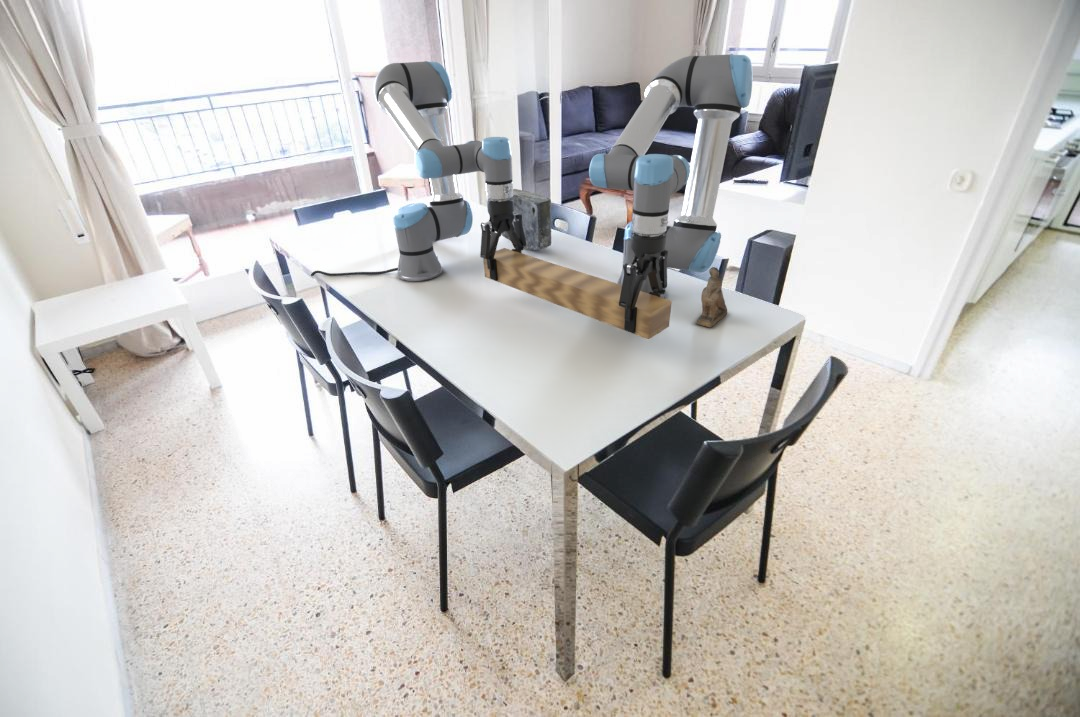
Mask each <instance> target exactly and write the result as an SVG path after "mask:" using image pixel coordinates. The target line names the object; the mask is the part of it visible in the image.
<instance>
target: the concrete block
mask: <svg viewBox="0 0 1080 717" xmlns="http://www.w3.org/2000/svg"><path fill="white" fill-rule="evenodd" d="M512 198H513V199H514V212H513V214H514V213H517V214H521V215H522V225H523V230H524V235H525V239H526V246H523V247H524V249H526V250H529V251H542V250H544V249H546V248H548V247H551V245H552V200H551V198H550V197H546V196H544V195H541V194H538V193H535V192H531V191H527V190H522V189H517V188H513V197H512ZM512 224H513V226H514V223H512ZM514 228H515V227H514ZM515 233H516V232H515ZM502 236H503V238H505V239H507V240H508V241H510V242H511V240H510V238H509V236H508V234H507V232H506V231H504V232H503V233H501V237H502Z"/></svg>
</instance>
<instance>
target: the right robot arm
mask: <svg viewBox="0 0 1080 717" xmlns="http://www.w3.org/2000/svg"><path fill="white" fill-rule="evenodd" d="M752 91H753V64H752V60H751V58H750V56H748V55H746V54H733V53H730V54H713V55H712V54H711V55H709V54H708V55H688V56H684V57H682V58H679V59H677V60H675V61H673V62H671V63H670V64H669V65H667V66H666V67H664V68H663V69H662V70H660V71H659V72H658V73H657V74H656V75H655V76H654V77H653V78H652V79H651V81H649V84H648V85H647V87H646V88H645V91H644V98H643V99H642V101H641V103H640V105H639V106H638V108H637V109H636V110H635V112H634V114H633V115H632V116H631V119H630V120H629V122H628V123H627V124H626V126H625V128H624V129H623V131H622V132H621V134H620V135H619V137H618V138H617V140H616V141H615V143H614V144H613V146H612V148H610V150H609V152H608V153H606V152H603V153H597V154H595V155H593V157H592V158H591V161H590V163H589V167H588V176H589V181H590V183H591V185H592V186H593V187H596V188H603V189H607V190H618V191H619V190H620V191H633V202H632V203H633V204H632V214H631V215H632V216H631V221H629V222H628V223H627V224H626V225H625V228H624V236H623V254H622V270H621V273H620V275H619V277H618V280H617V282H616V283H617V284H620V285H622V289H621V294H620V300H619V306H621V307H624V308H625V316H624V318H625V325H624V330H623V331H625V332H627V333H631V334H633V335H635V334H634V333H635V332H636V319H637V307H635V305H636V302H637V299H638V296H639V293H640V291H642V292H646V293H649V294H652V295H655V296H658V297H661V298H665V297H666V289H667V287H668V269H674V270H681V271H687V272H689V273H691V272H692V273H693V272H694V273H705V272H707V271H709V270H710V269H711V266H712V264H713V262H714V261H715V258H716V256H717V255H718V251H719V247H720V244H721V238H722V234H721V232H720V231H719V230H717V227H718V223H717V222H716V220H715V218H714V213H715V209H716V203H717V197H718V193H719V188H720V184H721V179H722V174H723V169H724V163H725V159H726V154H727V149H728V145H729V140H730V135H731V129H732V124H733V122H734V121H735V120H737V119H738V118H739V117H740V116H741V111H742V109H745V108H747V107H749V105H750V102H751V99H752ZM682 107H694V108H693V115H694V116H695V118H696V120H697V122H696V123H697V124H696V130H695V135H694V140H693V146H692V152H691V157H690V162H689V161H688V160H687V159H686V158H685V157H683V156H681V155H678V154H673V155H671V154H670V155H668V154H663V153H648V154H646V153H647V152H648V150H649V148H650V147H651V145H652V143H653V142H654V141H655V138H656V137H657V135H658V133H659V132H660V130H661V129H662V127H663V125H664V124H665V122H666V121H667V119H668V118H669V116H670V115H672V114H673V113H675V112H676V111H677V110H678V109H679V108H682ZM684 186H685V190H684V195H683V200H682V207H681V212H680V215H679V216H677V217H676V218H675V219H674V220H673V225H668V223H669V220H668V219H669V213H670V212H669V211H670V201H671V196H672V195H673V194H675V193H676V192H679V191H680V190H682V189H683V188H684Z"/></svg>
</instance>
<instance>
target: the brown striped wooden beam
mask: <svg viewBox="0 0 1080 717" xmlns="http://www.w3.org/2000/svg"><path fill="white" fill-rule="evenodd" d="M494 258H495V259H496V262H497V274H498V280H497V281H495V280H493V279H490V271H489V269H488V268H487V259H484V258H482V260H483V261H482V262H483V270H484V277H485V278H487V279H489V280H491V281H492V280H493V281H494V282H497V283H500V284H503V285H505V286H508V287H510V288H513V289H515V290H518V291H521V292H523V293H525V294H528V295H531V296H533V297H536V298H539V299H542V300H544V301H547V302H549V303H551V304H555V305H557V306H560V307H562V308H565V309H568V310H570V311H572V312H575V313H578V314H581V315H584V316H585V317H589V318H591V319H594V320H596V321H598V322H602V323H605V324H607V325H609V326H612V327H615V328H618V329H620V330H623V331H625V330H624V325H625V318H624V316H625V308H624V307H621V306H619V300H620V294H621V289H622V285H620V284H617V283H618V282H615V281H610V280H608V279H604V278H601V277H599V276H594V275H591V274H588V273H586V272H582V271H579V270H575V269H572V268H570V267H566V266H563V265H560V264H557V263H553V262H550V261H548V260H543V259H540V258H538V257H535V256H531V255H528V254H525V253H522V252H521V253H519V252H516V251H512V249H509V248H505V247H502V248H501V249H498V250H497V249H496V252H495V256H494ZM672 303H673V300H671V299H668V298H665V297H664V298H661V297H658V296H655V295H652V294H649V293H646V292H642V291H640V293H639V296H638V299H637V302H636V305H635V307H637V319H636V332H635V333H634V334H633V335H636V336H638V337H641V338H643V339H646V340H650V339H652V338H653V337H655V336H656V335H658V334H659V333H661V332H663V331H664V330H666V329H667V328H669V327H670V320H671V312H672Z"/></svg>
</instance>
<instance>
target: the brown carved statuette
mask: <svg viewBox="0 0 1080 717" xmlns="http://www.w3.org/2000/svg"><path fill="white" fill-rule="evenodd" d="M708 273H709V275H710V276H709V278H708V279H707V280H708V281H707V284H706V286H705V287H704V288H703V290H702V292H701V297H700V298H701V309H702V312H701V315H700V316H699V317H698V318H697V319H696V321H695V324H696V325H699V326H703V327H705V328H712V327H714V326H715V325H716V324H717V323H719V321H721V320H722V319H723V318H725V317H726V316H727V315H728V307H727V304H726V301H725V298H724V293H723V290H722V287H723V281H722V279H721V278H720V270H719V269H718V268H717V267H715V266H712V267H710V268H709V269H708Z"/></svg>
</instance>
